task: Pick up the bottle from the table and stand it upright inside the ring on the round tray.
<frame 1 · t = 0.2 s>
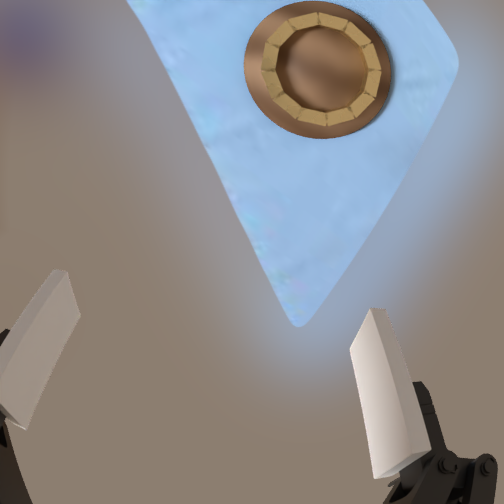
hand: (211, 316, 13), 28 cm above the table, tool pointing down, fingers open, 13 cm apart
ring tray: (319, 68, 30), on the table
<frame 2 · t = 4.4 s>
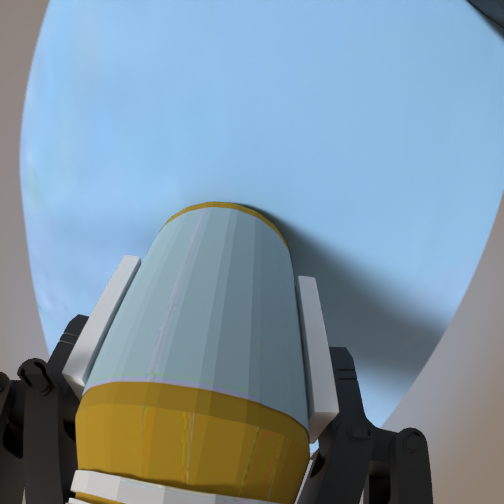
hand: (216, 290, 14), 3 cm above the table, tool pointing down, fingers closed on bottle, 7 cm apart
bottle: (222, 256, 16), on the table, touching gripper
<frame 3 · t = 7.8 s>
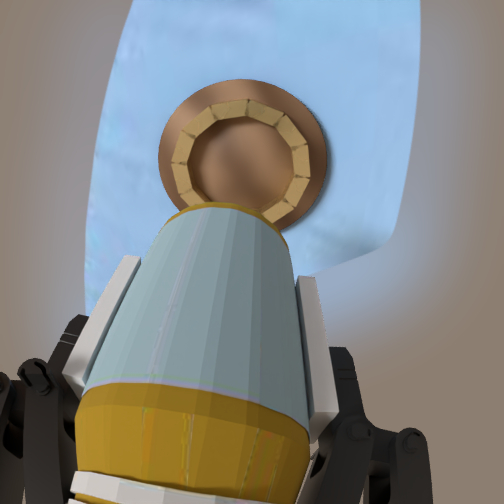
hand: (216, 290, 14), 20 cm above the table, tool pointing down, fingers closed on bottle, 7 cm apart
bottle: (222, 256, 16), point 17 cm above the table, touching gripper
ring tray: (241, 161, 30), on the table
when the fingers open (5 cm above the table, at t = 11.3 s): bottle drops 1 cm, resting on ring tray.
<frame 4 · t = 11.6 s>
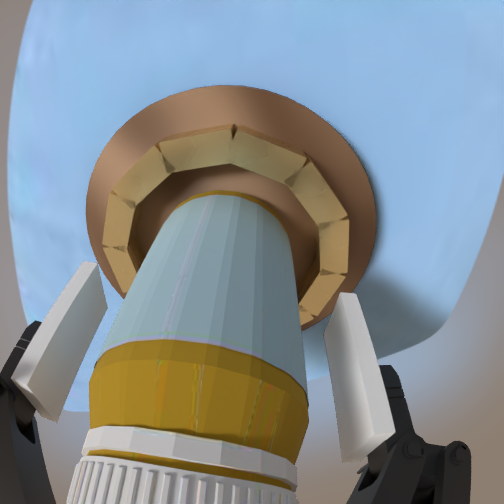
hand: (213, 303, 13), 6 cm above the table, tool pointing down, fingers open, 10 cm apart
bottle: (225, 242, 17), point 1 cm above the table, touching ring tray
ring tray: (226, 235, 18), on the table
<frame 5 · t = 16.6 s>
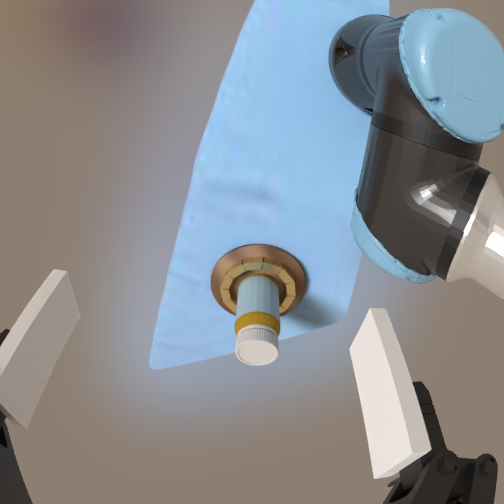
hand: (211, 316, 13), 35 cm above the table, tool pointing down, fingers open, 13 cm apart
bottle: (258, 286, 55), point 1 cm above the table, touching ring tray
ring tray: (258, 283, 56), on the table
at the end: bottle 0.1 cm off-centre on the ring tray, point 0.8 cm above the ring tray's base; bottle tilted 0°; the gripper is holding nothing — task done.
